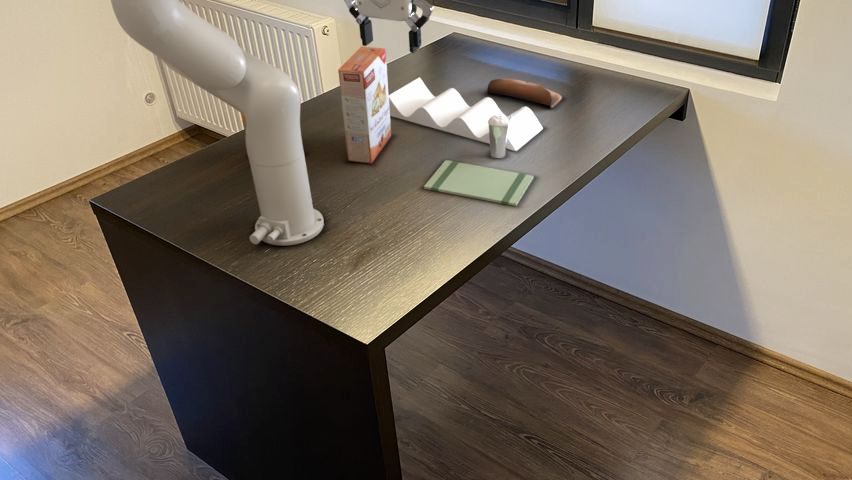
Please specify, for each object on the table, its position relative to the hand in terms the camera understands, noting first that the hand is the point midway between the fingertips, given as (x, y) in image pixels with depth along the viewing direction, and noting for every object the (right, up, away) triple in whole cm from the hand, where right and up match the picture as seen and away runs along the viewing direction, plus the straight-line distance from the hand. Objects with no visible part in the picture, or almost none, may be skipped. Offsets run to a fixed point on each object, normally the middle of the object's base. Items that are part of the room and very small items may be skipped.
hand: (391, 46), depth 140 cm
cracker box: (-9, -14, +28) cm, 32 cm away
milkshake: (+20, -16, +26) cm, 37 cm away
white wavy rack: (+12, -6, +39) cm, 41 cm away
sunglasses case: (+27, +3, +51) cm, 58 cm away
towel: (+16, -23, +16) cm, 33 cm away
